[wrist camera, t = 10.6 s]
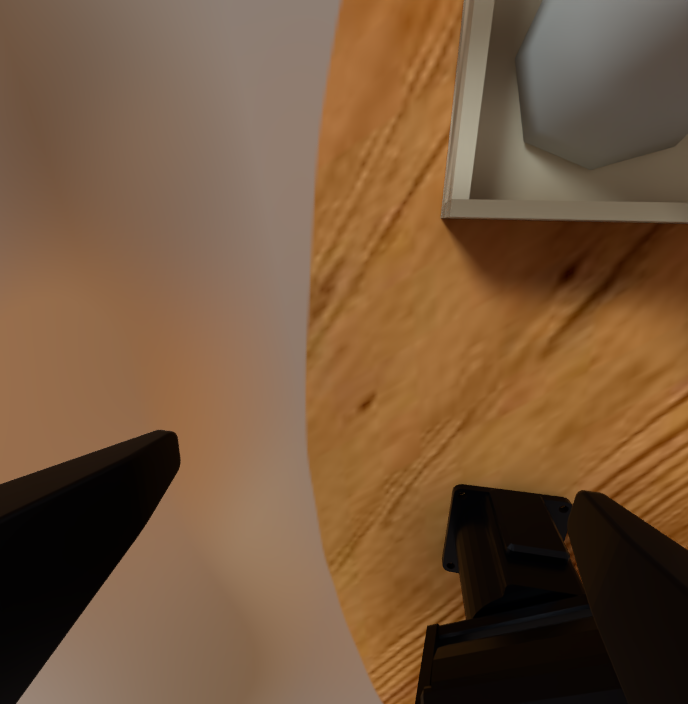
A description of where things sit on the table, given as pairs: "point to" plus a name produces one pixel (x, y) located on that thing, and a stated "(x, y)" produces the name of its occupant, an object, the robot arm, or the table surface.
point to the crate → (529, 161)
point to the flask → (604, 79)
